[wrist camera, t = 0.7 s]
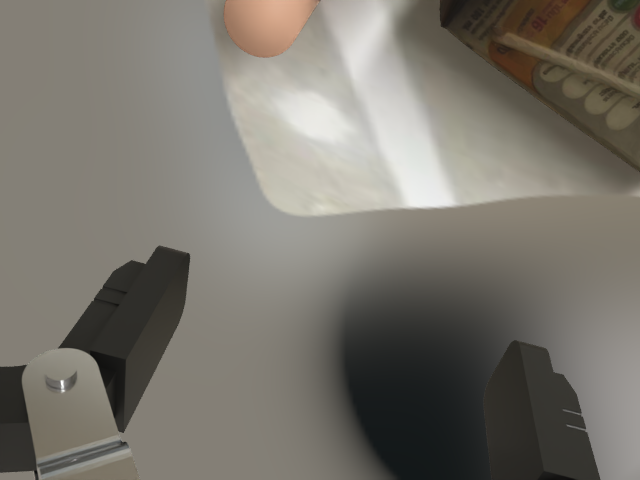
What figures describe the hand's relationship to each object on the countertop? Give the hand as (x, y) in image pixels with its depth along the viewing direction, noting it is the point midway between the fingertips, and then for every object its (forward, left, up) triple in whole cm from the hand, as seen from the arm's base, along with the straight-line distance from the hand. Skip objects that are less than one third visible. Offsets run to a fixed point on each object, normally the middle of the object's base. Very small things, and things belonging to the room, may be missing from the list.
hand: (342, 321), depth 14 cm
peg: (-2, -6, -26) cm, 26 cm away
